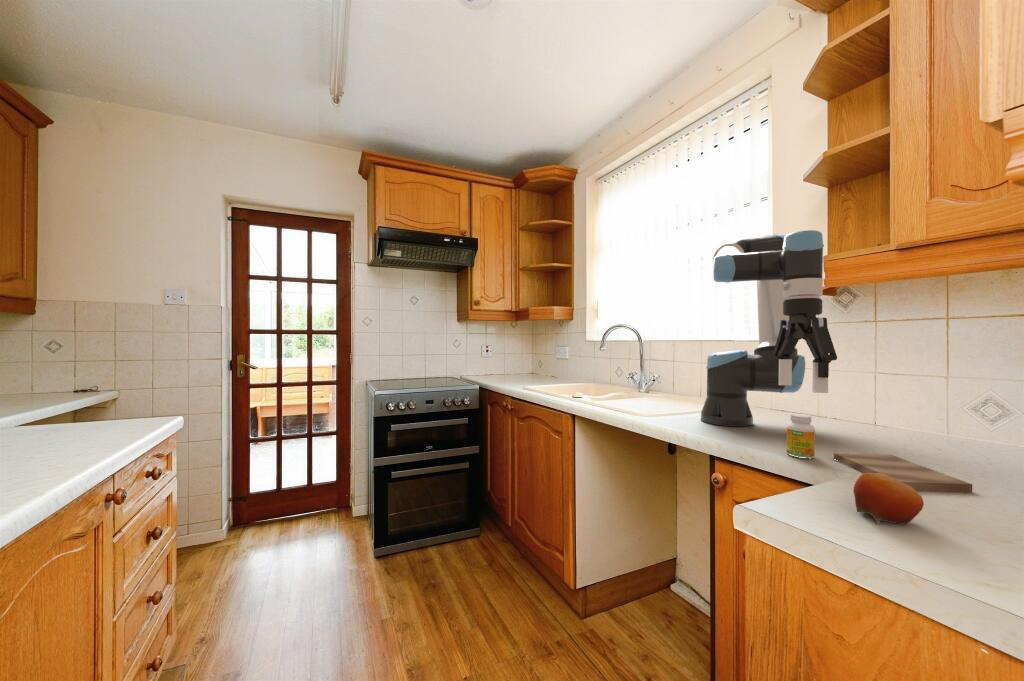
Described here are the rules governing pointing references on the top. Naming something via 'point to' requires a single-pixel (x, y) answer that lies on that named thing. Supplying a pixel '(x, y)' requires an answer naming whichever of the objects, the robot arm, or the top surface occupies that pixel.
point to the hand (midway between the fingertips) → (801, 388)
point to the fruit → (886, 498)
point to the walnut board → (904, 472)
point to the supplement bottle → (801, 436)
